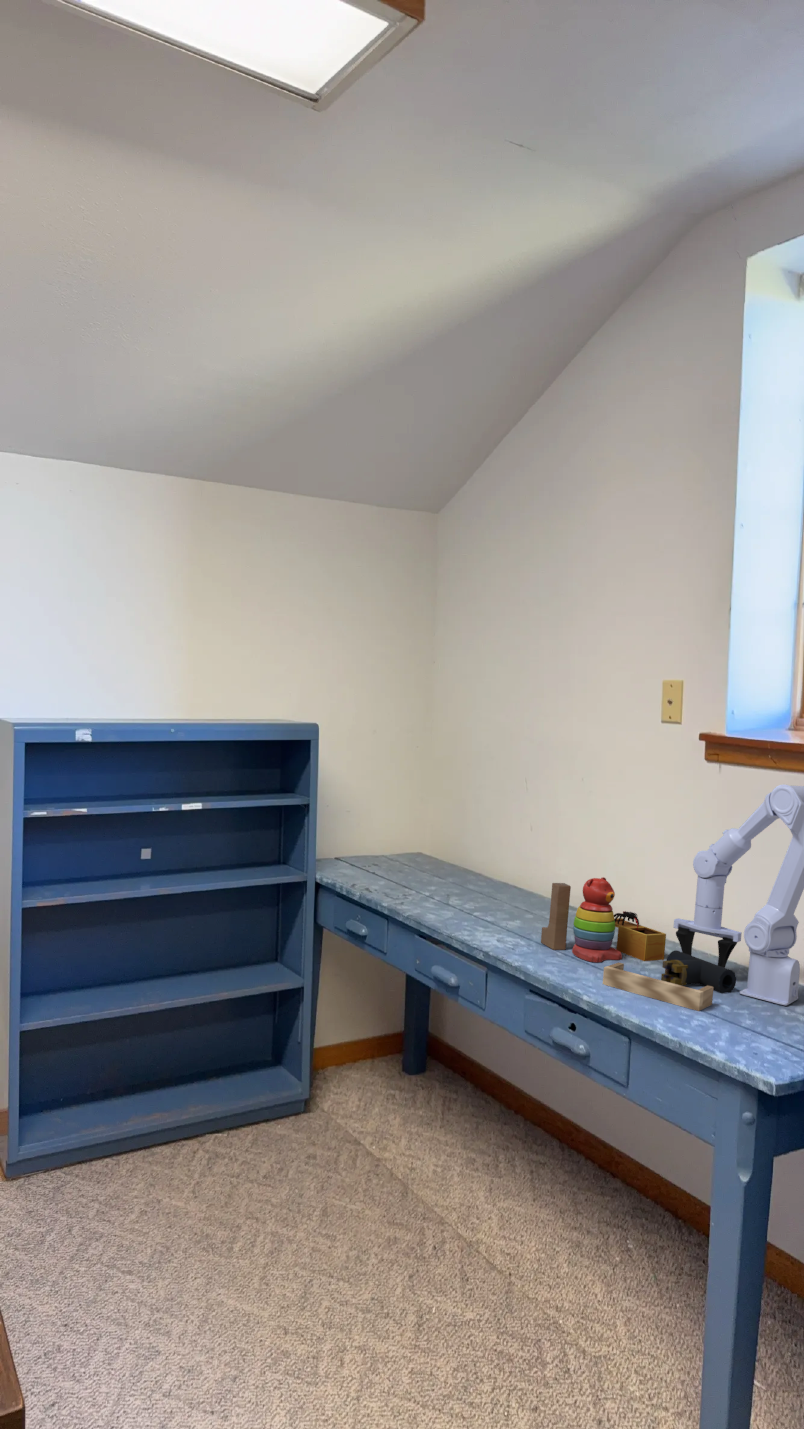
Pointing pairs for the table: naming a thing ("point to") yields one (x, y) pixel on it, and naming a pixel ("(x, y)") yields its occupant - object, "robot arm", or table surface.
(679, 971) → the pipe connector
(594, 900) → the stacking bear
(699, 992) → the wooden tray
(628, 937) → the spider toy trap
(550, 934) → the wooden block
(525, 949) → the table surface
